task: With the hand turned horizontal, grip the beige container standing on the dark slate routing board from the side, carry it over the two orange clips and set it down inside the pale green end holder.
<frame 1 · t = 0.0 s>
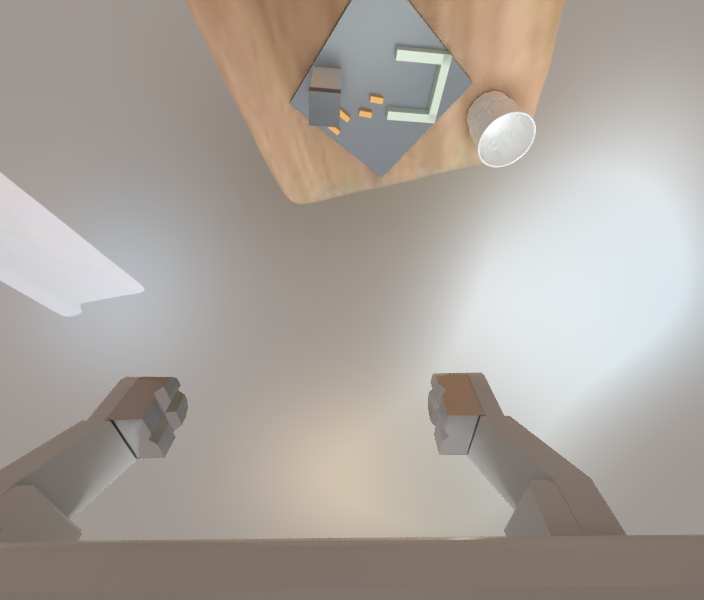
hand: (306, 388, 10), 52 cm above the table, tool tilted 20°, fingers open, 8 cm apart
white cup: (486, 112, 52), on the table
beige container: (327, 83, 48), point 1 cm above the table, touching routing board
routing board: (379, 91, 49), on the table
end holder: (411, 82, 48), resting on routing board
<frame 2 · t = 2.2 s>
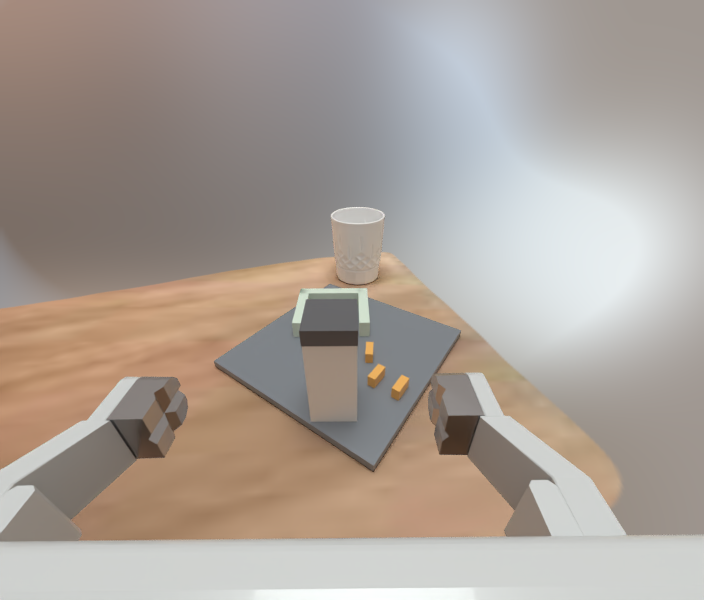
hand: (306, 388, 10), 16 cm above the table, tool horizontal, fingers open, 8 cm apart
white cup: (357, 276, 52), on the table
beige container: (335, 402, 29), point 1 cm above the table, touching routing board
routing board: (344, 350, 36), on the table
end holder: (333, 325, 40), resting on routing board
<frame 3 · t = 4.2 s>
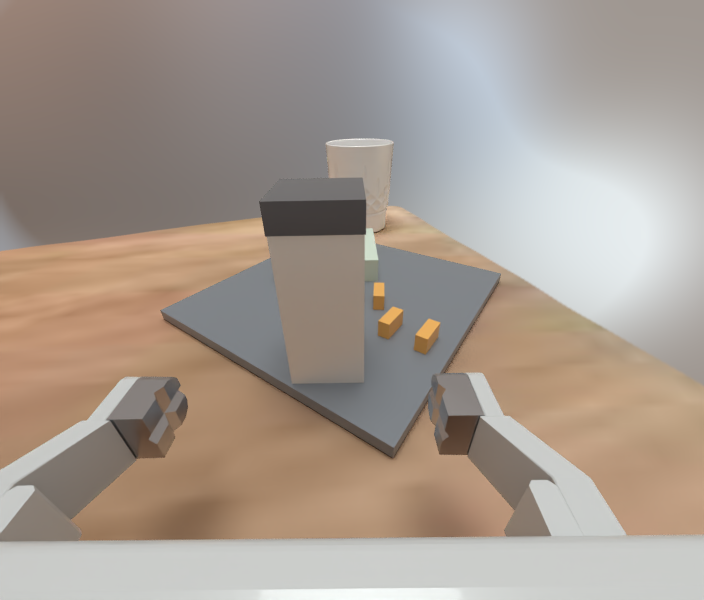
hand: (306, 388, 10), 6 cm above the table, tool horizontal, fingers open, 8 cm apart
white cup: (359, 227, 42), on the table
beige container: (329, 358, 19), point 1 cm above the table, touching routing board
routing board: (344, 298, 26), on the table
end holder: (328, 272, 30), resting on routing board
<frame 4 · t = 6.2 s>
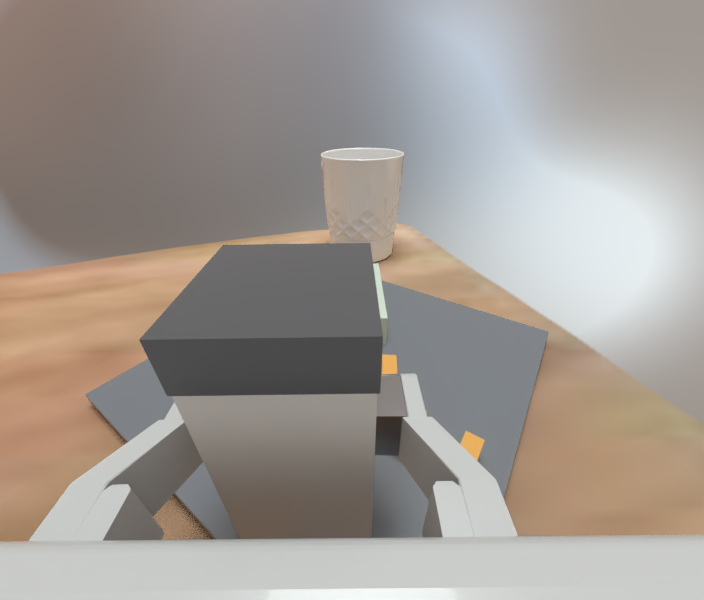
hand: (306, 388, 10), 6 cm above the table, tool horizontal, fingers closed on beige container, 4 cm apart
white cup: (361, 252, 35), on the table
beige container: (316, 502, 12), point 1 cm above the table, touching gripper, routing board
routing board: (341, 369, 20), on the table
end holder: (322, 324, 24), resting on routing board
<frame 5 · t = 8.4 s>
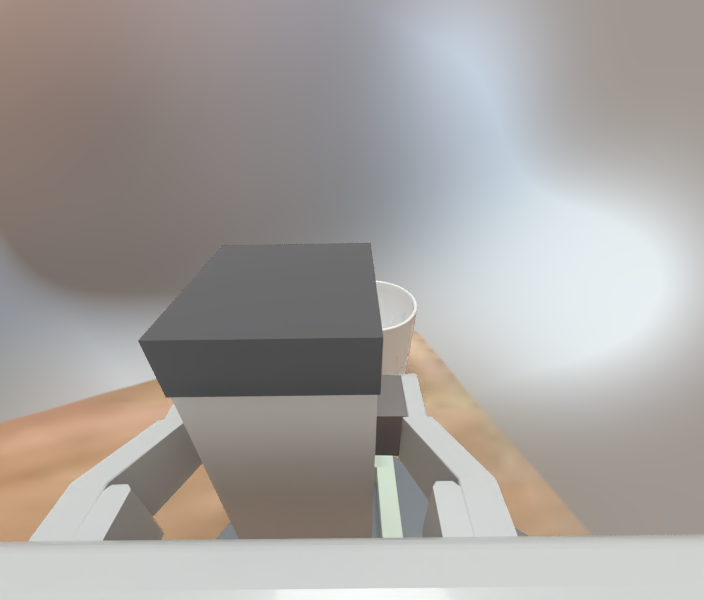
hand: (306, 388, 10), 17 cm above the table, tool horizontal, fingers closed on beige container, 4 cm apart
white cup: (369, 385, 32), on the table
beige container: (316, 503, 12), point 11 cm above the table, touching gripper
end holder: (330, 539, 21), resting on routing board
when the fingers open (8 cm above the table, at t = 10.8 s): beige container drops 1 cm, resting on routing board.
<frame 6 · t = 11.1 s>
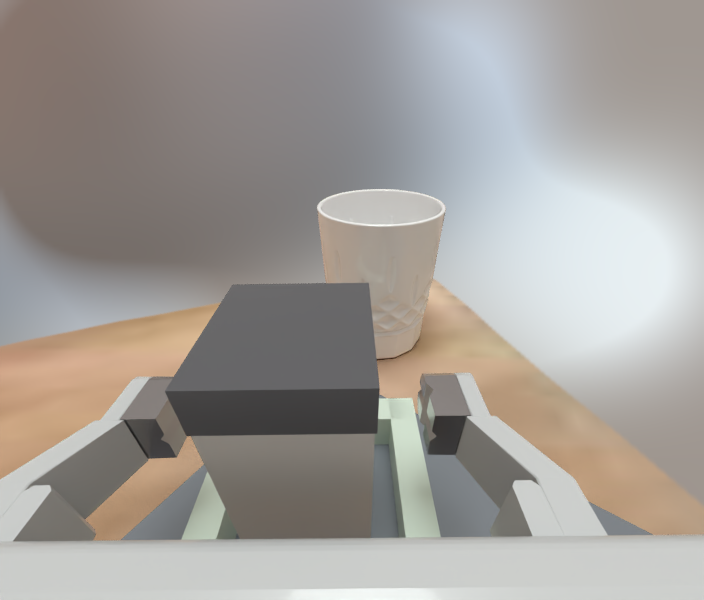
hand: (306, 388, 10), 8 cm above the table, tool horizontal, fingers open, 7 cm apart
white cup: (376, 332, 25), on the table
beige container: (318, 516, 13), point 1 cm above the table, touching routing board
end holder: (319, 526, 13), resting on routing board
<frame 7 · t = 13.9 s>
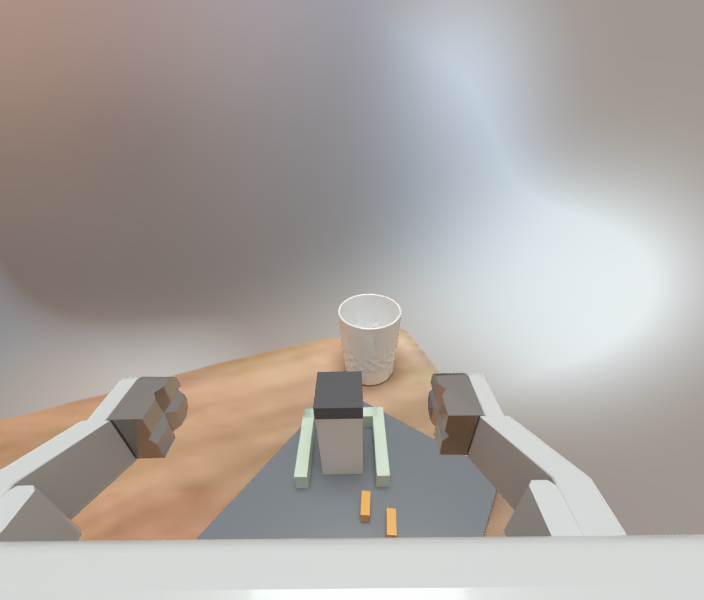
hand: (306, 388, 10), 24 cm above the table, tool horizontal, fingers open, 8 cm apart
white cup: (369, 369, 45), on the table
beige container: (343, 455, 33), point 1 cm above the table, touching routing board
routing board: (359, 508, 29), on the table
end holder: (343, 459, 33), resting on routing board
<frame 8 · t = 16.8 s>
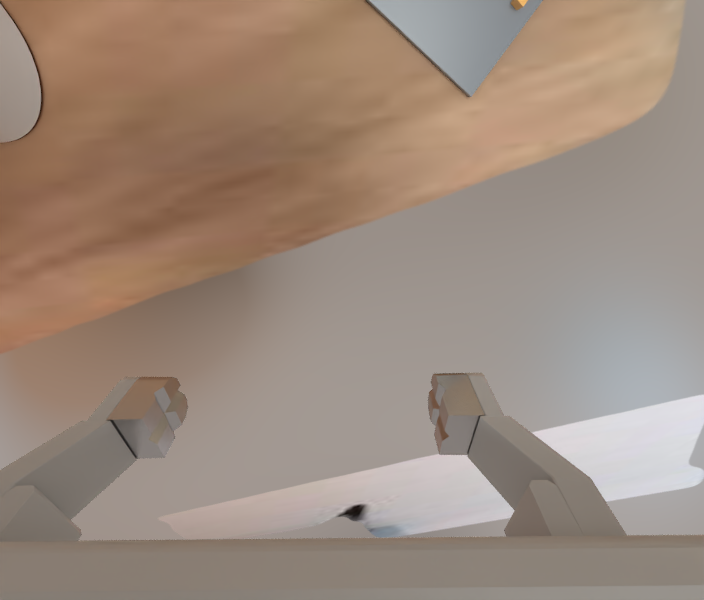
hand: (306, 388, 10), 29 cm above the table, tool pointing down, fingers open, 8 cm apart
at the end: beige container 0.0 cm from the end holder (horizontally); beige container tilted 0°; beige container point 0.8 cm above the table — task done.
